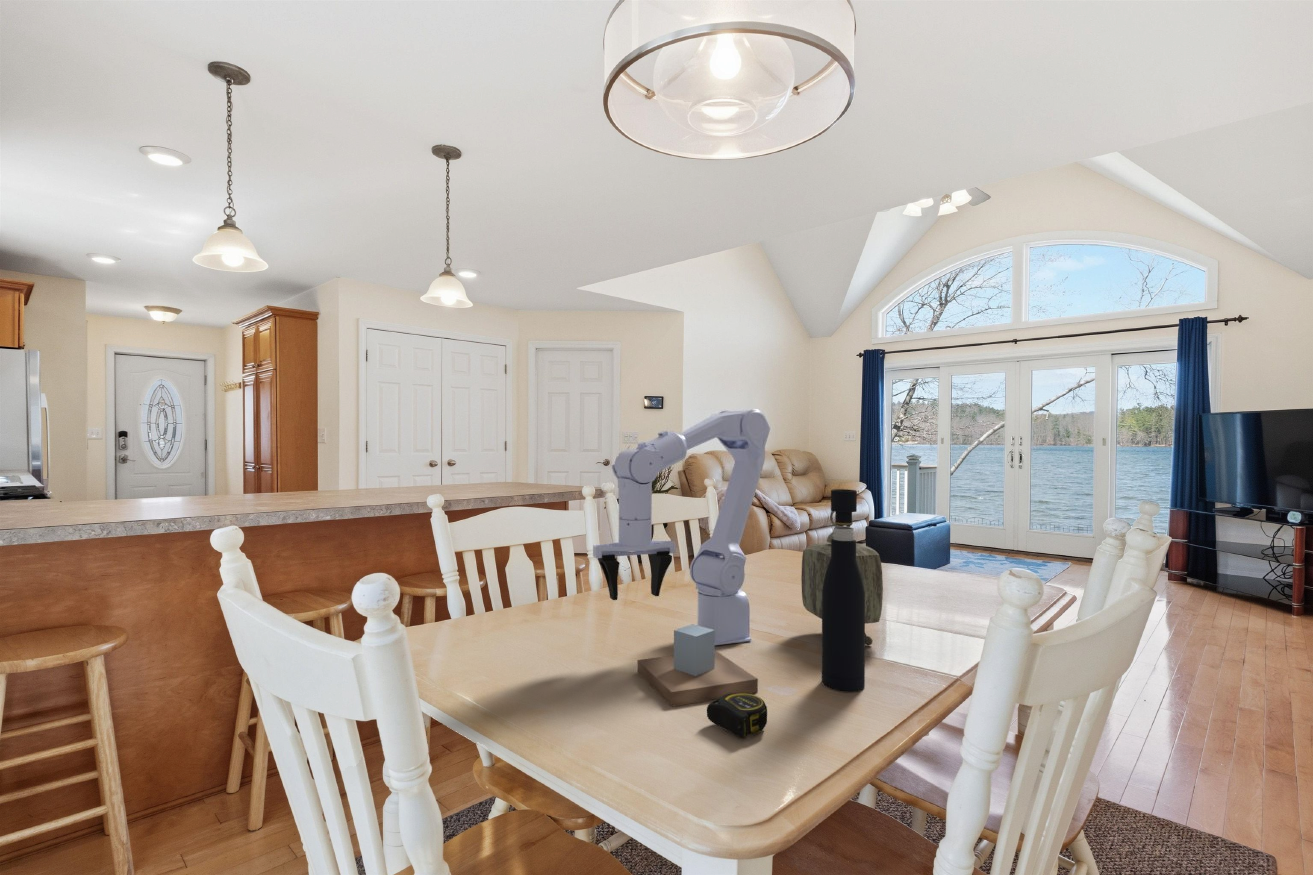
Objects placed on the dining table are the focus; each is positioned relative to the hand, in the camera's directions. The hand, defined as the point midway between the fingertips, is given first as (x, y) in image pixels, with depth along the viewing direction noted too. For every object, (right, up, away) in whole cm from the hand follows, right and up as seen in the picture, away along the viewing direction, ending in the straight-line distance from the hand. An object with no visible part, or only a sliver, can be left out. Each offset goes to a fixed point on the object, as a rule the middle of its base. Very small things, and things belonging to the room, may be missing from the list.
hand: (634, 596), depth 109 cm
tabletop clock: (+39, -11, +11) cm, 42 cm away
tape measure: (+14, -11, -28) cm, 33 cm away
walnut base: (+10, -10, -11) cm, 18 cm away
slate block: (+10, -8, -11) cm, 17 cm away
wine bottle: (+33, -11, -12) cm, 36 cm away
